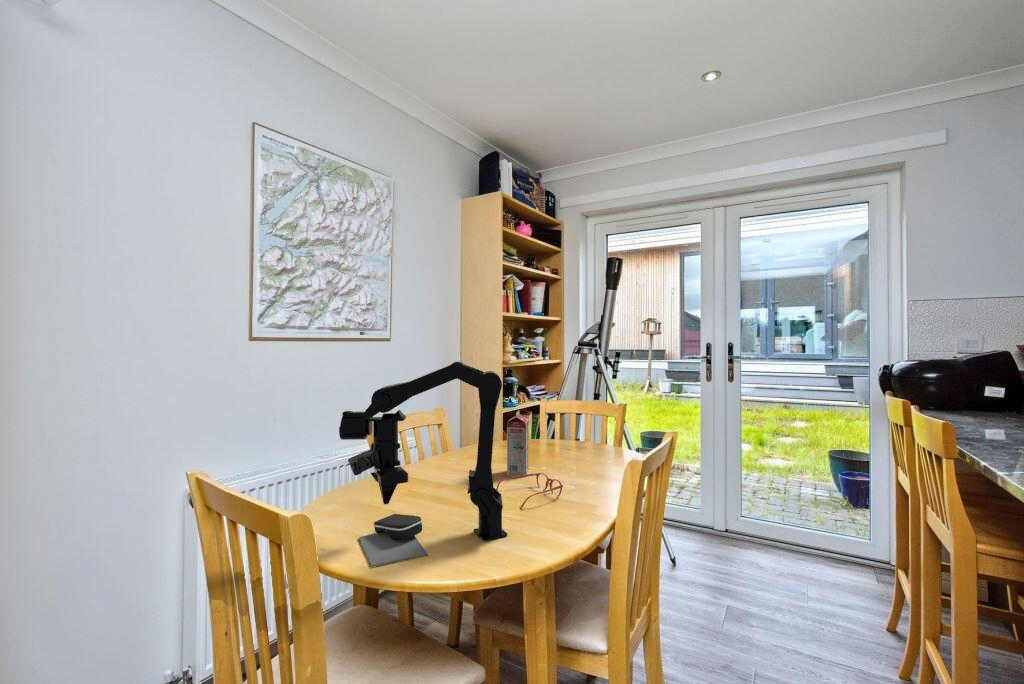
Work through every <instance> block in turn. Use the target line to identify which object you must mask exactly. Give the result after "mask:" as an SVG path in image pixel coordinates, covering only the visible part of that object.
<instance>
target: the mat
mask: <svg viewBox="0 0 1024 684" xmlns="http://www.w3.org/2000/svg"><path fill="white" fill-rule="evenodd" d="M358 539H360V540H359V542H360V544H361V546H363V547H362V549H363V551H364V554H365V555H367V556H366V557H367V559H368V560H367V561H368V563H369V564H371V565H370V567H371V566H372V567H373V568H375V567H374V566H378V567H381V565H382V566H387V565H391V564H395V563H400V561H401V562H404V561H410V560H413V559H418V558H423V557H427V556H428V555H429V553H428V552H427V551H426V550H425V548H424V546H423V545H422V544H421V543H420V541H419V540H418V538H417V537H416V535H415V536H413V537H411V538H408V539H406V540H394V539H391V538H390V535H389V533H388V532H387V531H385V532H383V533H372V534H368V535H363V536H359V537H358ZM386 564H387V565H386ZM372 567H371V568H372Z"/></svg>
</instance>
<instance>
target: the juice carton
mask: <svg viewBox="0 0 1024 684" xmlns="http://www.w3.org/2000/svg"><path fill="white" fill-rule="evenodd" d="M506 454H507V455H506V476H507V475H508V476H507V477H515V476H521V475H526V474H529V419H528V418H527V417H525V416H523V415H521V414H520V409H518V410H517V411H516V413H515V415H514V416H513V417H511V418H510V419H509V420H508V421H507V422H506Z"/></svg>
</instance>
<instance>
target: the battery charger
mask: <svg viewBox="0 0 1024 684" xmlns="http://www.w3.org/2000/svg"><path fill="white" fill-rule="evenodd" d="M373 527H374V532H375V534H377V533H383V532H388V533H389V535H390V538H391V539H394V540H406V539H408V538H411V537H413V536H415V537H416V535H418V534H421V533H422V531H423V520H422V517H421V516H418V515H410V514H409V515H408V514H399V513H393V514H390V515H388V516H385V517H383V518H380V519H378V520H375V521H374V522H373Z"/></svg>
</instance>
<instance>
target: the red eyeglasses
mask: <svg viewBox="0 0 1024 684" xmlns="http://www.w3.org/2000/svg"><path fill="white" fill-rule="evenodd" d="M540 475H543V476H545V477H546V481H545V488H544V489H545V490H542V491H540V492H536V493H534V494H531V495H529V496H527V498H525V500H524V501H523V502H522V504H521V506H520V507H519V509H522V508H523V507H524V505H525V504H526V503H527V501H528V499H530V498H531V497H533V496H537V495H541V494H544V493H548V492H551V493H554V491H555V490H558V489H560V490H559V492H558V494H557V496H559V497H560V495H561V494H562V490H563V486H564V485H563V483H562V482H561V481H560V480H558V479H555V478H554V479H552V478H549V477H548V475H547V474H545V473H541V472H540V473H539V472H538V473H535V472H533V473H527V474H526V475H521V476H508V477H504V478H502V479H501V480H500V481H499V482H498V483H497V485H496V488H495V489H496V490H497V491H498V492H499V486H500V484H501V483H502V482H503V481H504V480H508V479H515V478H522V477H523V478H526V477H534V476H536V484H537V487H538V488H539V487H540V488H541V486H540V484H539V477H540ZM554 481H557V482H558V483H559V485H558V486H554V487H553V482H554ZM548 486H549V488H548ZM547 488H548V489H547ZM546 489H547V490H546ZM521 507H522V508H521Z"/></svg>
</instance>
